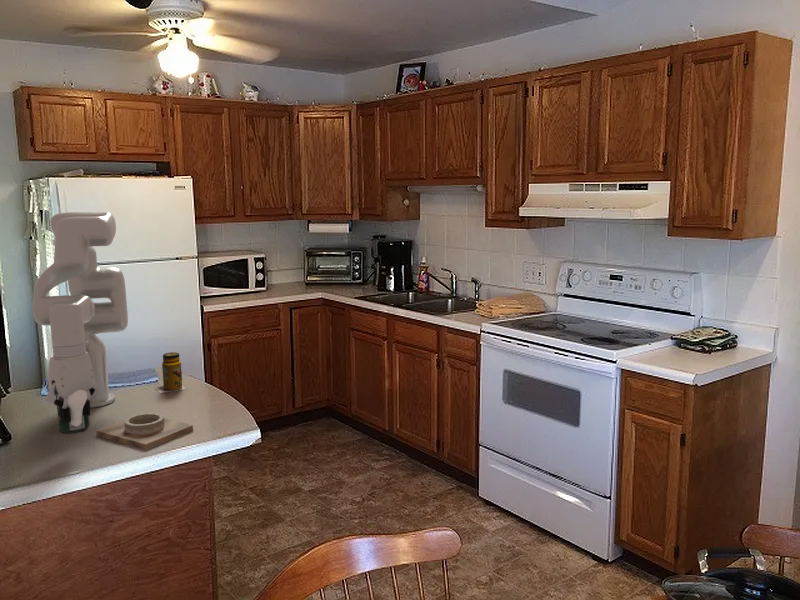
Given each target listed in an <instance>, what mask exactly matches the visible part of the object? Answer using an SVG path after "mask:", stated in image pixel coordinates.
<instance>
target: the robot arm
mask: <svg viewBox="0 0 800 600" xmlns="http://www.w3.org/2000/svg"><path fill="white" fill-rule="evenodd" d="M50 218H51V219H50V228H51V231H52V233H53V235H54V252H53V253H54V254H53V256H54V257H53V263H52V264H51V265H50V266H48V267H47V268H46V269H45V270H44V271H43V272H42V273H41V274H40V275H39V277H38V279H37V280H36V281H35V284H34V287H33V294H32V295H33V297H32V307H31V308H32V316H33V319H34V321H35V322H36V323H37V324H38V325H40V326H49V327H50V336H51V339H50V340H51V347H52V348H51V349H52V357H50V358H49V363H48V371H47V373H48V378H47V379H48V380H47V381H48V382H47V383H48V392H47V394H46V396H45V398H44V400H45V401H48V402H50V403H52V404H53V405H55V406H56V408H57V407H59V412H60V419H61V421H63V422H67V423H69V422H71V415H70V408H69V407H67V405H68V396H70V395H72V394H73V393H75V392H76V391H78V390H84V391H86V393H87V400H86V402H85V405H84V407H83V411H82V414H83V415H86V416H89V417H90V416H91V408H100V407H103V406H107V405H110V404H111V403H113V402H114V401H115V399H116V396H115V395H114V394H113V393H110V389H109V376H108V375H109V373H108V363H107V349H106V345H105V344H104V342H103V341H102V340H101V338H100V337H98V336H97V334H107V333H110V334H111V333H118V332H119V333H120V332H124V331H125V330H126V329H127V327H128V323H129V317H128V316H129V314H128V302H127V292H126V291H127V290H126V281H125V275H124V274H123V273H124V272H122V270H121V269H120V268H117V267H113V266H112V267H111V266H110V267H108V266H106V267H99V266H98V259H97V251H96V249H95V248H94V247H108V246H110V245H111V244H112V243H113V241H114V238H115V236H116V232H117V231H116V230H117V223H116V220H115V217H114V215H113V214H111V212H107V211H92V212H91V211H88V212H87V211H78V212H77V211H74V212H72V211H71V212H70V211H69V212H61V213H56V214H54V215H53V216H51V217H50ZM65 282H67V283H68V284H67V286H68V292H69V293H70V295H49V296H48V294H49V292H50V291H52V290H53V289H54V288H56V287H57V286H59V285H61V284H63V283H65ZM95 299H97V300H98V299H109V302H108V301H106V302H103V301H102V302H94V301H93V300H95ZM56 394H58V397H57V399H56ZM61 398H63V401H62V400H61Z"/></svg>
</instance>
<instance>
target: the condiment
mask: <svg viewBox="0 0 800 600" xmlns="http://www.w3.org/2000/svg"><path fill="white" fill-rule="evenodd" d="M161 367H162V369H161V370H162V383H163V384H162V385H160V386H154V388H155V390H157V392H158V393H159V394H164V393H169V392H170V393H171V392H176V391H183V390H187V388H186V387H185V386H184V385H183V373H182V361H181V360H180V353H179V352H177V351H176V352H174V351H173V352H171V351H170V352H166V353H164V354H162V363H161Z"/></svg>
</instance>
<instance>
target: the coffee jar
mask: <svg viewBox="0 0 800 600" xmlns="http://www.w3.org/2000/svg"><path fill="white" fill-rule="evenodd" d="M57 397H58V394H56V395H55V398H56V399H57ZM56 411H57V419H58V428H59V430H60V432H62V433H76V432H78V433H79V432H80V431H83V430H86V429H88V428H89V425H90V415H89V416H86V415H83V414H82V423H81V424H80V425H79V426H77V427H75V426H73V425H71V422H69V423H67V422H63V421H61V419H60V412H59V407H57V406H56Z"/></svg>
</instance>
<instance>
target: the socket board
mask: <svg viewBox="0 0 800 600" xmlns="http://www.w3.org/2000/svg"><path fill="white" fill-rule="evenodd" d="M193 426H194V425H193V424H189V423H187V422H186V423H185V422H181V421H178V420H173V419H169V418H166V417H164V415H163V414H160V413H156V412H143V413H138V414H134V415H131V416H129V417H127V418H125V420H121V421H119V422H116V423H114V424H113V423H112V424H111V425H108V426H105V427H101V428H100V429H99V428H98V429H97V430H95V435H96V437H99V438H104V439H106V438H107V439H106V440H109V441H114V442H118V443H121V444H124V445H129V446H132V447H135V448H139V449H142V450H149V449H151V448H154V447H156V446H158V445H161V444H163V443H166V442H168V441H170V440H173V439H175V438H178V437H181V436H182V435H185V434H187V433H190V432H192V431H193V430H194V427H193Z"/></svg>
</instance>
